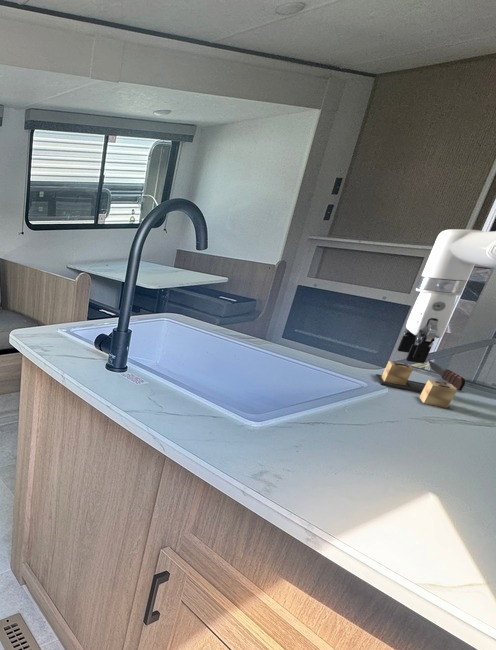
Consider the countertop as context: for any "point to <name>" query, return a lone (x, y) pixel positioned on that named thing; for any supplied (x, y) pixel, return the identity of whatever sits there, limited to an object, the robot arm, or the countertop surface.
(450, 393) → the tile
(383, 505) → the countertop surface
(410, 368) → the wooden block
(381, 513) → the countertop surface
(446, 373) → the knife
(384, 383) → the word mat
